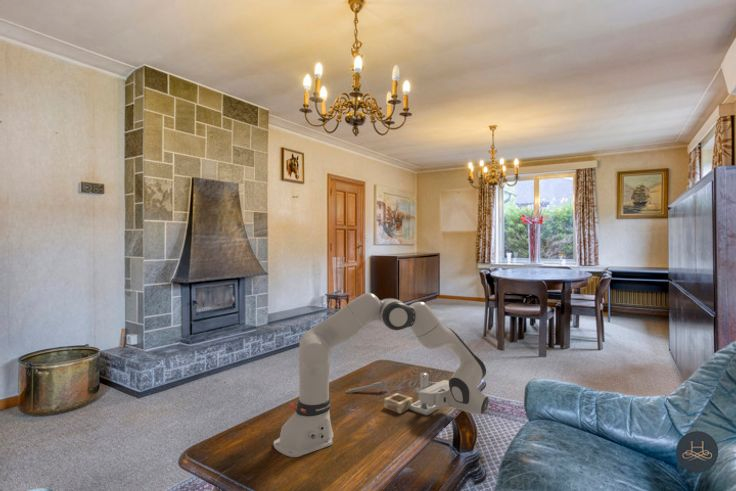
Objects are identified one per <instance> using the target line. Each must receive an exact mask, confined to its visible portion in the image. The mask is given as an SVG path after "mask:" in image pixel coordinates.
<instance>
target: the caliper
mask: <svg viewBox="0 0 736 491" xmlns="http://www.w3.org/2000/svg"><path fill="white" fill-rule="evenodd" d="M383 387H384V388H383ZM379 388H380V390H381V392H382V393H383V392H384V389H385V392H388V383H387V381H386V380H385V379H381V380H380V381H378V382H374V383H371V384H369V385H364V386H359V387H355V388H350V389H347V390H345V394H346V393H347V394H349V393H351V394H352V393H357V392H361V391H366V390H370V389H373V390H377V389H379Z"/></svg>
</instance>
